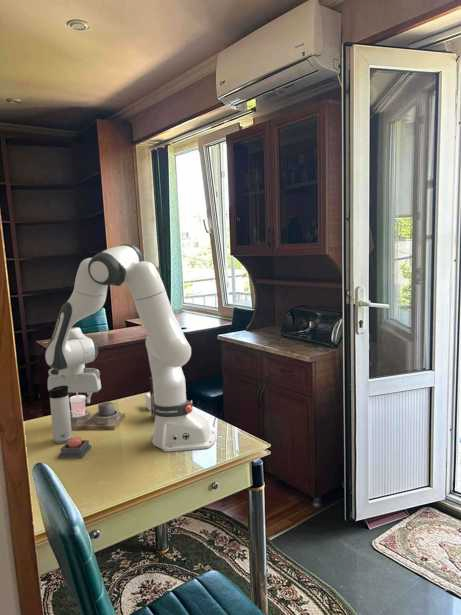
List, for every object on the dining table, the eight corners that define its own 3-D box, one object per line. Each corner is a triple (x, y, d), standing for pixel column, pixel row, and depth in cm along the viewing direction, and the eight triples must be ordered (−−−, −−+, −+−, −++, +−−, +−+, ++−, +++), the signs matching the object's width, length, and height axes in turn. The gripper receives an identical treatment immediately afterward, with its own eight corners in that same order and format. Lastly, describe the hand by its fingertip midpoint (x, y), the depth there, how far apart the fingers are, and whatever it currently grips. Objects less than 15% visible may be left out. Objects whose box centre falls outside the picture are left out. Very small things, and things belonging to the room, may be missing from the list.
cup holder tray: (124, 416, 188) (123, 399, 187) (114, 429, 176) (113, 410, 175) (72, 417, 190) (70, 399, 189) (58, 429, 177) (56, 411, 176)
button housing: (91, 447, 161) (90, 439, 160) (82, 458, 153) (81, 449, 152) (69, 447, 161) (68, 439, 161) (58, 458, 153) (58, 449, 153)
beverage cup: (89, 420, 182) (86, 385, 180) (73, 423, 179) (70, 388, 177) (84, 415, 187) (82, 381, 186) (69, 419, 184) (66, 384, 182)
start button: (83, 443, 159) (83, 437, 158) (78, 448, 154) (78, 442, 154) (71, 443, 159) (70, 437, 159) (65, 448, 155) (65, 442, 154)
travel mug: (67, 444, 164) (62, 389, 161) (50, 443, 165) (45, 389, 162) (76, 437, 170) (71, 384, 167) (59, 436, 171) (55, 383, 168)
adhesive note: (159, 404, 202) (159, 391, 201) (164, 408, 197) (163, 395, 196) (146, 407, 199) (145, 393, 198) (150, 411, 194) (149, 397, 193)
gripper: (102, 365, 183) (104, 399, 185) (51, 366, 184) (54, 400, 186) (96, 370, 176) (99, 405, 178) (44, 370, 178) (47, 405, 180)
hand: (76, 402), depth 182 cm, fingers open, 8 cm apart
